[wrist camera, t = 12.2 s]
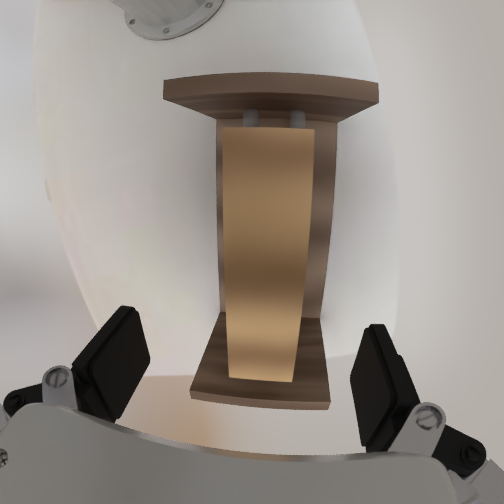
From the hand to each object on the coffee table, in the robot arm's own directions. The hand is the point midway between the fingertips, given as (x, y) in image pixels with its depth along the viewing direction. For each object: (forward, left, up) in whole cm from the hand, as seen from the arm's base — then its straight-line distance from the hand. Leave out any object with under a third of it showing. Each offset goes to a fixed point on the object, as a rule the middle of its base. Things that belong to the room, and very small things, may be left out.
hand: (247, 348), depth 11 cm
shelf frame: (0, 0, -21) cm, 21 cm away
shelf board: (0, 0, -13) cm, 13 cm away
